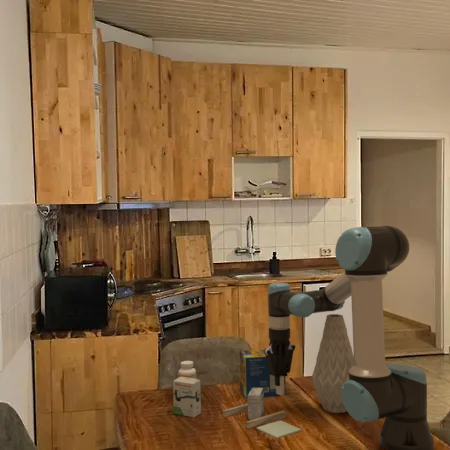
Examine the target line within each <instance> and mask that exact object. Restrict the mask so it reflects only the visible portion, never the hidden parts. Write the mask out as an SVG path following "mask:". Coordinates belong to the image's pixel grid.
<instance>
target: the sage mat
mask: <svg viewBox="0 0 450 450" xmlns="http://www.w3.org/2000/svg"><path fill="white" fill-rule="evenodd" d="M256 430H258V431H260V432H262V433H264V434H266V435H268V436H270V437H272V438H275V439H278V440H279V439H281V438H284V437H287V436H290V435H293V434H296V433H299V432H301V431H302V429H301V428H299V427H296V426H294V425H291V424H290V423H287V422H285V421H283V420H281V419H279V420H276V421H273V422H269V423H266V424H263V425H259V426H256Z"/></svg>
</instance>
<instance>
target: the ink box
mask: <svg viewBox="0 0 450 450" xmlns="http://www.w3.org/2000/svg"><path fill="white" fill-rule="evenodd" d="M172 384H173V387H172V390H173V391H172V392H173V394H172V395H173V398H172V399H173V415H178V416H185V417H190V418H195V417H197V416H199V415H200V414H201V413H202V405H201V403H202V400H201V399H202V397H201V380H200V379H198V378H196V379H193V378H187V377H179V376H178V377H177V378H176V379H174V380H173V381H172Z"/></svg>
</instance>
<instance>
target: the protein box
mask: <svg viewBox="0 0 450 450" xmlns="http://www.w3.org/2000/svg"><path fill="white" fill-rule="evenodd" d="M239 373H240V374H239V377H240V378H239V379H240V381H239V384H240V386H239V387H240V389H239V390H240V391H241V393H242V394H243V396H244V398H245V399H247V400H248V394H249V392H250V390H251V388H263V389H264V398H272V397H284V395H285V396H286V383H285V384H284V395H282V396H281V395H278V394H276V385H275V377H274V376H273V375H270V373H269V368H268V363H267V359H266V355H265V353H264V349H253V350H252V349H251V350H239Z"/></svg>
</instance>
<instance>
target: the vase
mask: <svg viewBox="0 0 450 450" xmlns="http://www.w3.org/2000/svg"><path fill="white" fill-rule="evenodd" d="M318 348H319V349H318V352H317V356H316V362H315V366H314V368H313V372H312V376H311V382H312V384H313V387H314V388H315V393H316V396H317V398H318V401H319V403H321V405H322V409H323V410H324V411H326V412H329V413H332V414H341V413H342V414H343V413H348V411H347V410H346V409H345V407H344V405H343V402H342V398H341V388H342V386H343V384H344V383H345V382H346V381H348V380H349V370H350V369H351V368H352V367H353V366H354V351H353V349H352V346H351V341H350V337H349V335H348V329H347V326H346V323H345V318H344V315H343V314H339V313H336V314H335V313H333V314H332V313H331V314H327V315H326V318H325V322H324V327H323V330H322V338H321V341H320V344H319V347H318Z"/></svg>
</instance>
